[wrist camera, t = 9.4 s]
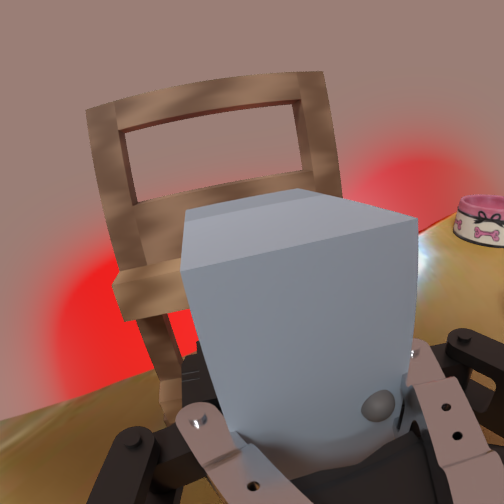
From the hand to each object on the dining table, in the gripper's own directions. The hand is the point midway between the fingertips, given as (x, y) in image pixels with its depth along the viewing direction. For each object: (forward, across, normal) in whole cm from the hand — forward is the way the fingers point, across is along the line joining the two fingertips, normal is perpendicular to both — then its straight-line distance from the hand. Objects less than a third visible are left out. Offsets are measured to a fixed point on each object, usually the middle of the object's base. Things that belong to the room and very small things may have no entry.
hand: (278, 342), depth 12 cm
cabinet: (-1, 0, +6) cm, 7 cm away
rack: (+10, 0, +11) cm, 15 cm away
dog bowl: (+26, -52, +12) cm, 60 cm away
